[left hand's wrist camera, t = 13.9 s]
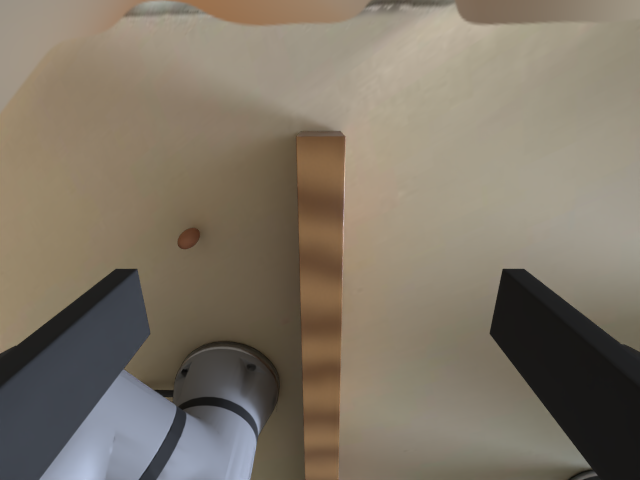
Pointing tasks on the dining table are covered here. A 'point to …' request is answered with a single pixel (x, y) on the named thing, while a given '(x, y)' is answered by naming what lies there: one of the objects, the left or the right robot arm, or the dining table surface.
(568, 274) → the dining table surface
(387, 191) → the dining table surface
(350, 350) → the dining table surface
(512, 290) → the left robot arm
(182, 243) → the egg
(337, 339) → the post
